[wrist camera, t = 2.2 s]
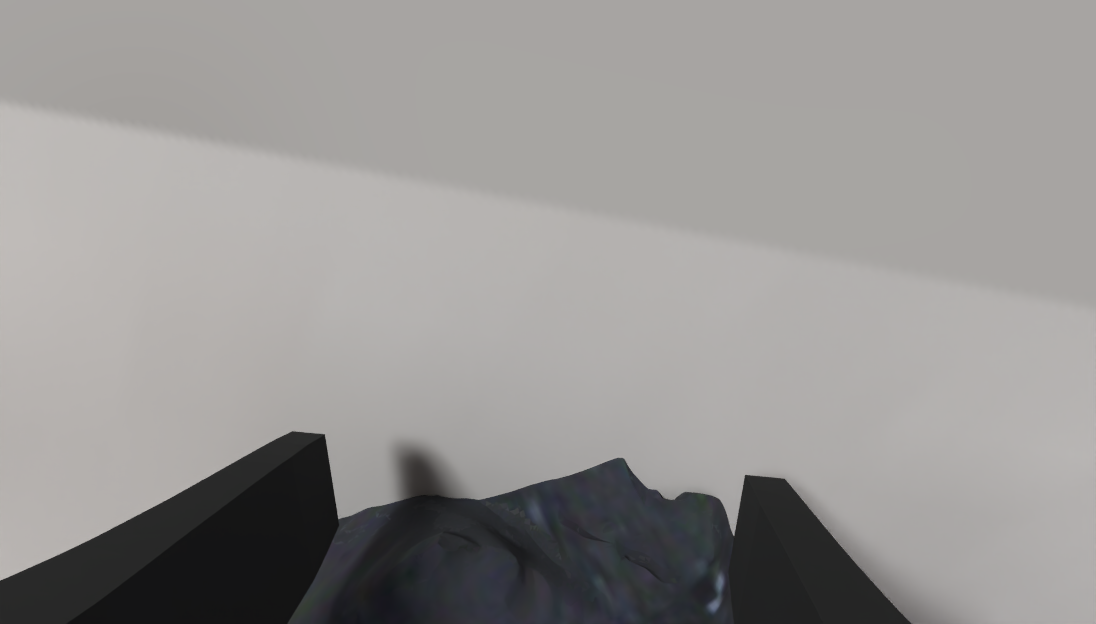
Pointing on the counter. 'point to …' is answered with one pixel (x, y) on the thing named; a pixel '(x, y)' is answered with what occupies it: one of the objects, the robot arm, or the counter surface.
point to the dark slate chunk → (531, 558)
